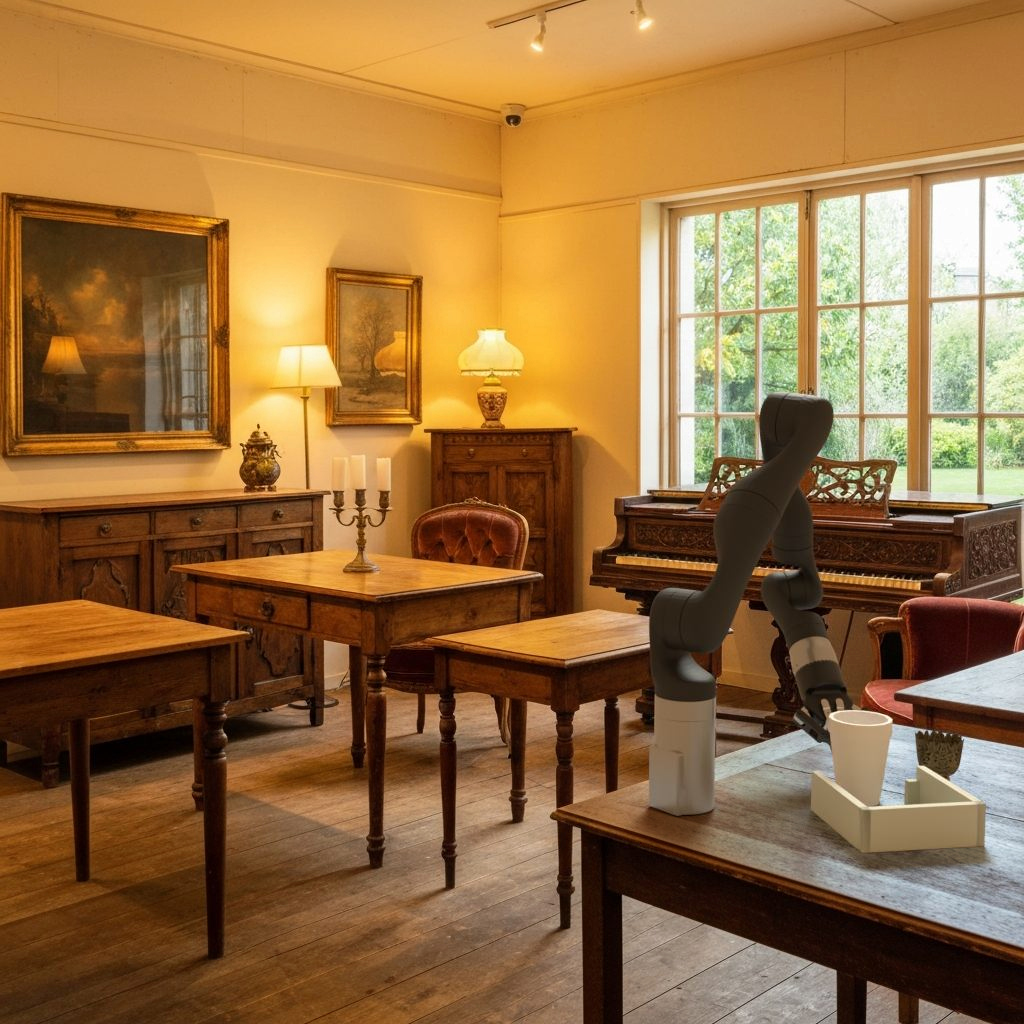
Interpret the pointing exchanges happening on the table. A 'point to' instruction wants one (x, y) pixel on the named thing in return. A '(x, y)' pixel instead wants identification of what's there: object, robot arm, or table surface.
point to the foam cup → (860, 752)
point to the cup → (939, 752)
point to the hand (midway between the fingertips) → (845, 763)
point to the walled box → (903, 815)
